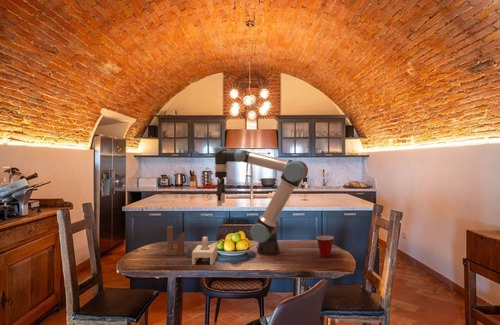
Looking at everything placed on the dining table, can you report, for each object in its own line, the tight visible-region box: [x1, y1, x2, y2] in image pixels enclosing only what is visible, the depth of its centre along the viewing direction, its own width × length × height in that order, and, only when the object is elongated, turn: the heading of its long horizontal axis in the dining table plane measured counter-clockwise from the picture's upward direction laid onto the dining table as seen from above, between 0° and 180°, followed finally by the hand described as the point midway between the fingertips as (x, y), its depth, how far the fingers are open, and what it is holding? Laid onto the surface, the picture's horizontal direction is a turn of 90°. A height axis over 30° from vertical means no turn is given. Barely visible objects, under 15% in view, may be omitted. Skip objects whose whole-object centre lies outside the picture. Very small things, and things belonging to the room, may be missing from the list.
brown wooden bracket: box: [165, 225, 185, 257], centre depth 203 cm, size 4×11×18 cm, turn 85°
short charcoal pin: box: [186, 244, 194, 258], centre depth 200 cm, size 4×4×7 cm
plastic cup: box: [315, 235, 334, 258], centre depth 199 cm, size 11×11×12 cm
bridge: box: [191, 244, 218, 266], centre depth 192 cm, size 12×16×7 cm
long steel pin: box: [201, 235, 209, 262], centre depth 192 cm, size 4×4×14 cm
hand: (221, 204), depth 204 cm, fingers open, 13 cm apart
